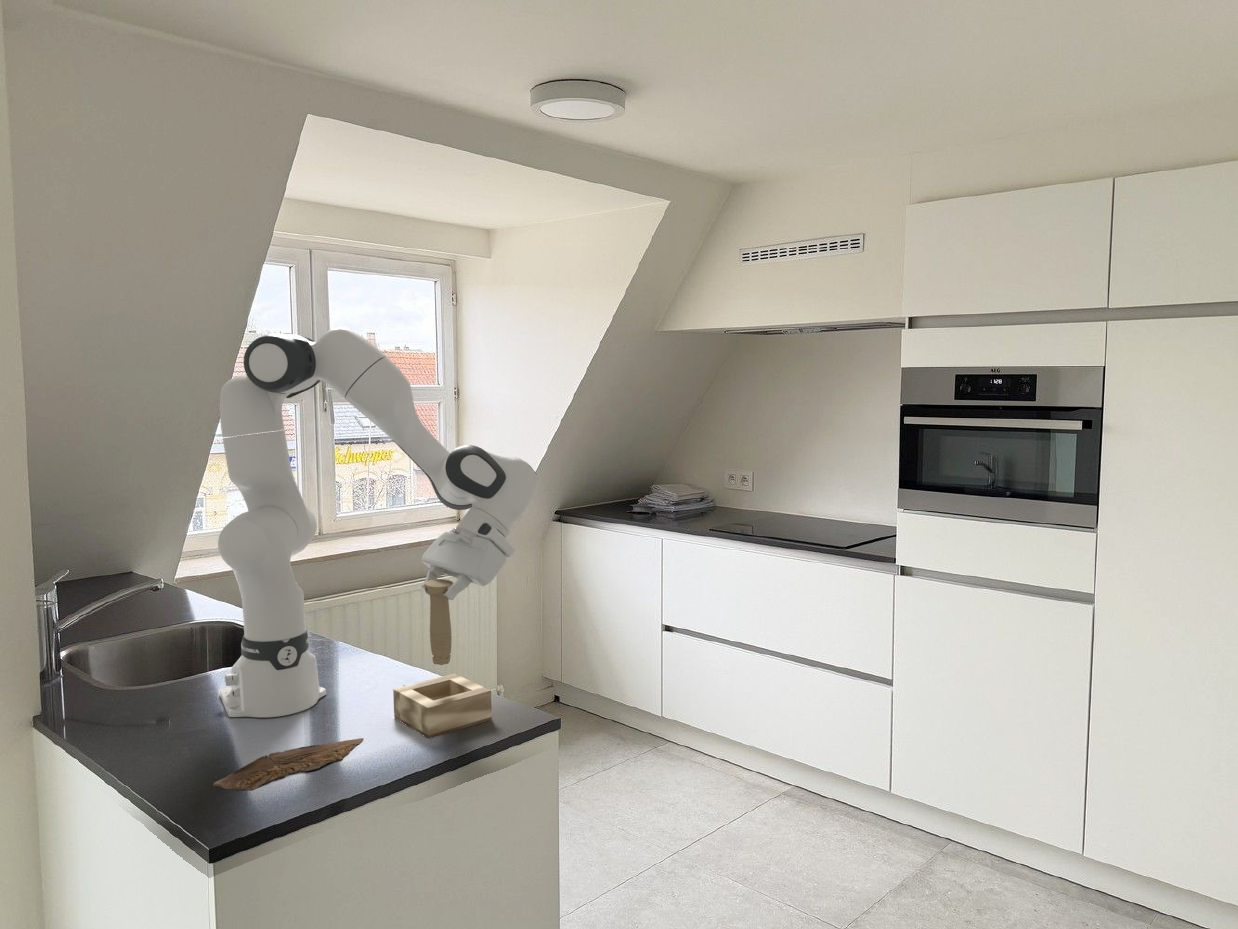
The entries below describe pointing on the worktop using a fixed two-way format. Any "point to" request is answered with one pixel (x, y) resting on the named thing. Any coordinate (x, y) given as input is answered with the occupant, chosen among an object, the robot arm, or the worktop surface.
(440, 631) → the handle
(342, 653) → the worktop surface
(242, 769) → the wooden fragment
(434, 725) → the socket block
